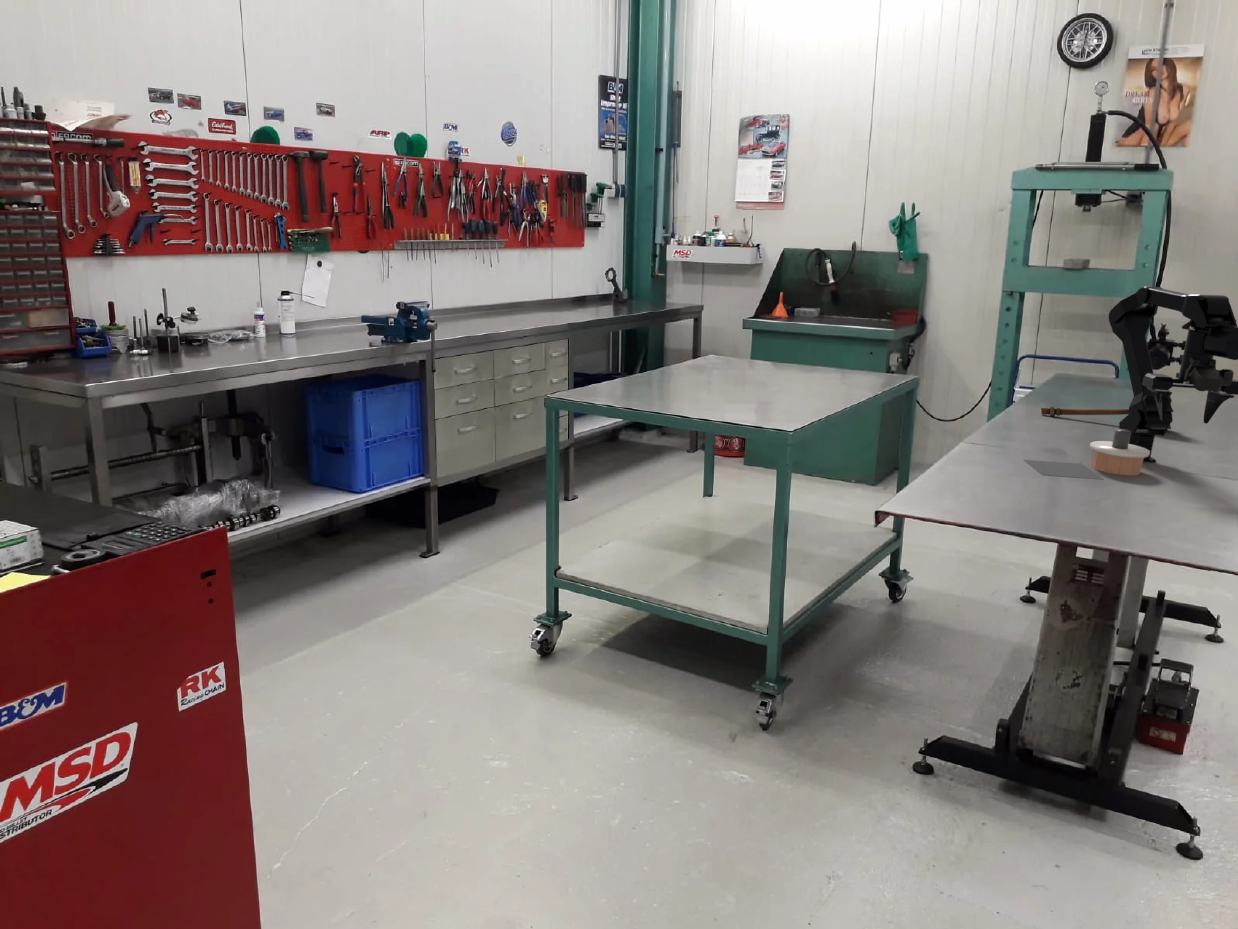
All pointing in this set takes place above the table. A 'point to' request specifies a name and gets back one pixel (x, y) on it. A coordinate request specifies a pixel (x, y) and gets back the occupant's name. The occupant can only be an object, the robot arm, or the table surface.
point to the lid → (1120, 446)
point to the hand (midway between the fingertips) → (1183, 421)
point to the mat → (1063, 469)
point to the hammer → (1087, 412)
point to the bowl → (1116, 464)
